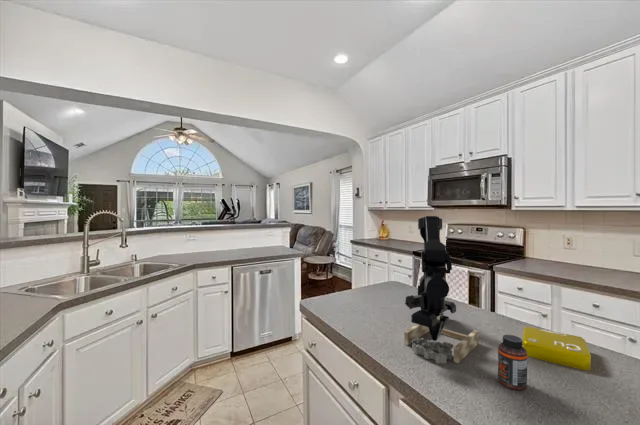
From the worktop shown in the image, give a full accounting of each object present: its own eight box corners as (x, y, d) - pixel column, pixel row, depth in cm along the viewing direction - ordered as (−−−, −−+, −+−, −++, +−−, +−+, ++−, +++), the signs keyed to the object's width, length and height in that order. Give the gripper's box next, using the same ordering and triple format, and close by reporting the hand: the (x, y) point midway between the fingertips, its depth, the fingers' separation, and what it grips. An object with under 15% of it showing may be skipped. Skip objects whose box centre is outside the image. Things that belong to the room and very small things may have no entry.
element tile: (584, 351, 88) (584, 335, 88) (592, 373, 76) (592, 355, 76) (523, 338, 97) (523, 323, 97) (522, 356, 85) (522, 340, 85)
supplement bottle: (492, 377, 74) (492, 332, 74) (514, 376, 74) (514, 332, 74) (509, 392, 68) (509, 343, 68) (533, 390, 68) (533, 342, 68)
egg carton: (455, 358, 84) (455, 344, 84) (442, 367, 79) (442, 352, 79) (422, 345, 92) (422, 332, 92) (408, 352, 87) (408, 338, 87)
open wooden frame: (428, 328, 104) (428, 317, 104) (478, 343, 92) (478, 330, 92) (404, 344, 92) (404, 331, 92) (458, 363, 81) (458, 348, 81)
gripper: (423, 279, 101) (423, 324, 101) (395, 290, 88) (395, 341, 88) (456, 285, 93) (456, 334, 93) (431, 297, 80) (431, 354, 80)
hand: (434, 340), depth 89 cm, fingers closed
